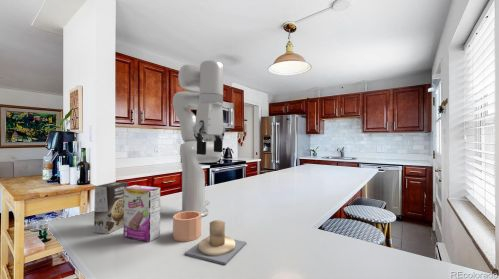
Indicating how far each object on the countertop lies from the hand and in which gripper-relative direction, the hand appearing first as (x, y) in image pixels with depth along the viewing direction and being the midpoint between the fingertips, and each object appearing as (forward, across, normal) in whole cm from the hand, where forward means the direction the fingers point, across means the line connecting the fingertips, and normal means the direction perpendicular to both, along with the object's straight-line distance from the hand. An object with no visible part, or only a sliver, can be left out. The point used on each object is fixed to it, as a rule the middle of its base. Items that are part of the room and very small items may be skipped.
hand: (210, 153), depth 74 cm
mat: (+27, +7, +7) cm, 29 cm away
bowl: (+28, +3, -7) cm, 29 cm away
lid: (+27, +6, +7) cm, 28 cm away
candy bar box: (+28, +10, -20) cm, 36 cm away
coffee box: (+29, +9, -36) cm, 47 cm away
